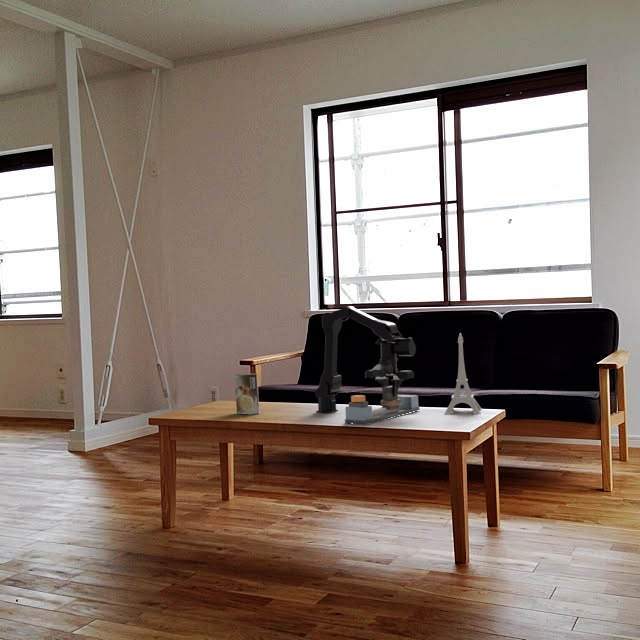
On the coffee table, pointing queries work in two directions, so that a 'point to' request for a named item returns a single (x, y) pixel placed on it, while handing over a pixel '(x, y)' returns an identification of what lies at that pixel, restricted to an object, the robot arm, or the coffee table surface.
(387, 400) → the carriage
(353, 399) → the button
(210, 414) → the coffee table surface
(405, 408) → the rail
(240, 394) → the coffee box
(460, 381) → the eiffel tower
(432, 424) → the coffee table surface
